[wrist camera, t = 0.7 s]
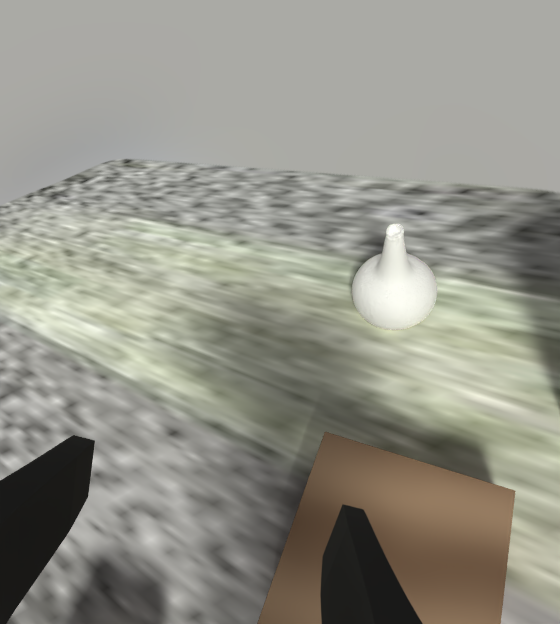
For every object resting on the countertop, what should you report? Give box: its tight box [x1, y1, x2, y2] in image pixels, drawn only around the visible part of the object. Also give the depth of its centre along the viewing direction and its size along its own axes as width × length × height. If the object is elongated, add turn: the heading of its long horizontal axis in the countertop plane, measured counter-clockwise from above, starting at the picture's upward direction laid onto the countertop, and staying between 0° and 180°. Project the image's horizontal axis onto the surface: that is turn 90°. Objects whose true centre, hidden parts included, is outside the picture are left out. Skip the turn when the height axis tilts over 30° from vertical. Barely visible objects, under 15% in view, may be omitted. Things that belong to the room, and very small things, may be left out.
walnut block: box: [257, 432, 515, 624], centre depth 23 cm, size 10×10×4 cm
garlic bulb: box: [352, 224, 437, 330], centre depth 32 cm, size 6×6×8 cm
